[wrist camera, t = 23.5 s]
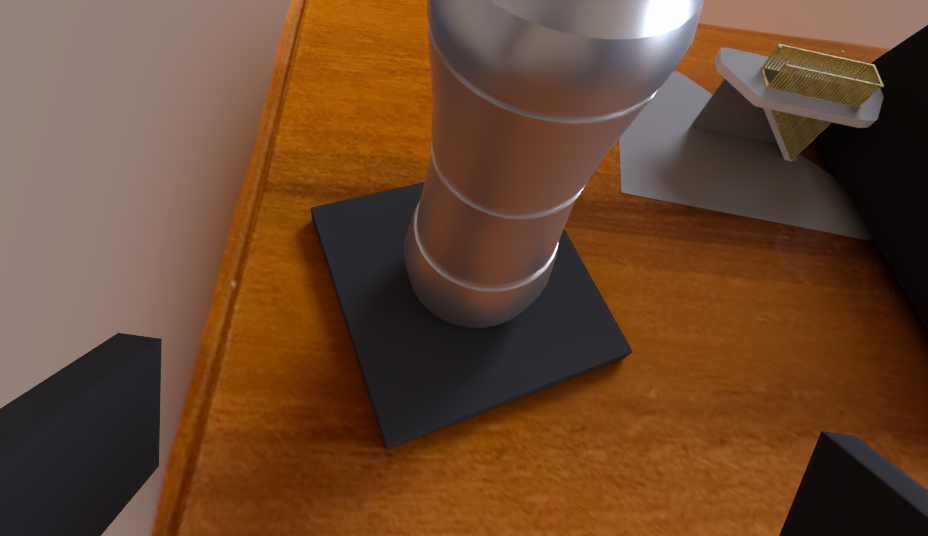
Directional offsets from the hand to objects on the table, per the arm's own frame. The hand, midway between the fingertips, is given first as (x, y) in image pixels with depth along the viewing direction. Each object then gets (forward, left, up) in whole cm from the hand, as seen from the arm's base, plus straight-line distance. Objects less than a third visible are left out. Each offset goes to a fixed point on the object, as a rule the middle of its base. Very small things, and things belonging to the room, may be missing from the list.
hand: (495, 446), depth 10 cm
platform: (+27, +12, -12) cm, 32 cm away
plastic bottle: (+5, +9, -11) cm, 15 cm away
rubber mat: (+5, +9, -12) cm, 16 cm away
